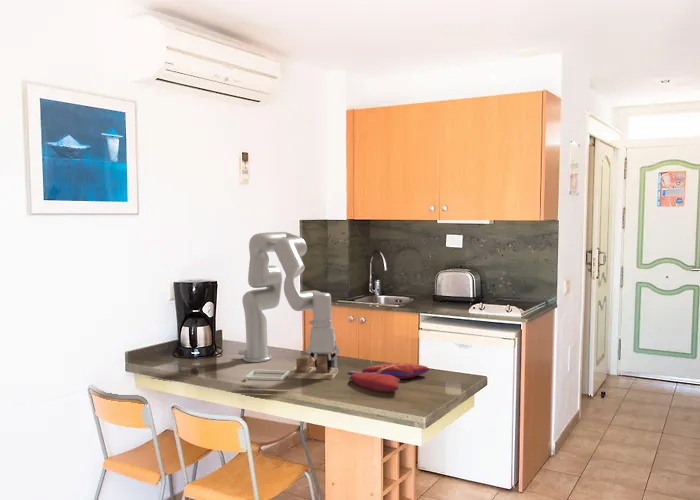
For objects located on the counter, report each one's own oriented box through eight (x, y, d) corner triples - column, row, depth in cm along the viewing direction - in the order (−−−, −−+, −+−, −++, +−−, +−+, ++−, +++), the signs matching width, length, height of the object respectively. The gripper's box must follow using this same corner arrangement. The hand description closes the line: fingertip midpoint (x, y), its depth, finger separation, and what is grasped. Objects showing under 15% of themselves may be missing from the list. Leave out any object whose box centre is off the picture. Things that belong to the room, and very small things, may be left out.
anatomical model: (431, 381, 242) (365, 375, 258) (430, 363, 242) (365, 358, 258) (396, 395, 216) (326, 388, 232) (396, 375, 216) (326, 369, 232)
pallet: (288, 380, 240) (288, 373, 240) (295, 373, 251) (295, 366, 251) (332, 382, 237) (332, 375, 236) (338, 374, 247) (338, 367, 247)
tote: (245, 382, 240) (244, 376, 239) (254, 375, 250) (253, 369, 249) (282, 383, 237) (282, 377, 237) (289, 376, 247) (289, 370, 247)
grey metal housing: (320, 372, 251) (320, 359, 250) (323, 369, 256) (322, 356, 255) (334, 372, 250) (334, 359, 249) (337, 369, 255) (336, 356, 254)
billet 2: (316, 373, 240) (316, 356, 240) (320, 369, 246) (320, 352, 245) (326, 373, 239) (326, 356, 239) (330, 369, 245) (329, 352, 245)
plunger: (311, 366, 252) (311, 359, 252) (313, 363, 256) (313, 356, 255) (322, 366, 251) (322, 359, 251) (324, 364, 255) (324, 357, 255)
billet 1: (296, 376, 242) (296, 358, 241) (300, 372, 248) (300, 355, 247) (306, 376, 241) (305, 359, 241) (310, 372, 247) (309, 355, 246)
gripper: (299, 325, 239) (300, 371, 241) (341, 326, 236) (342, 372, 237) (304, 321, 247) (305, 366, 248) (344, 322, 243) (345, 367, 245)
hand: (323, 368), depth 243 cm, fingers closed on billet 2, 4 cm apart
